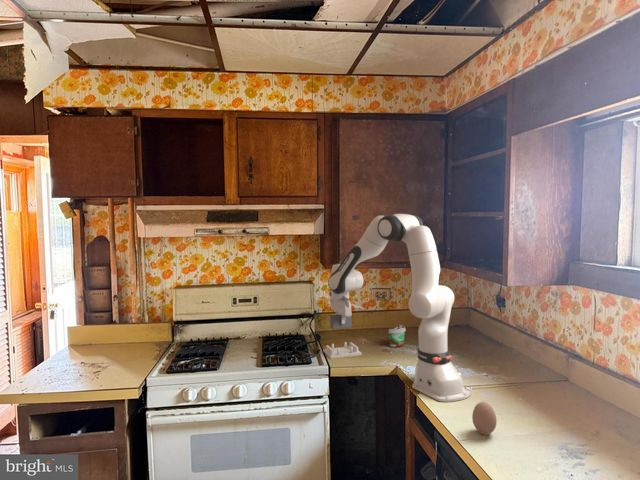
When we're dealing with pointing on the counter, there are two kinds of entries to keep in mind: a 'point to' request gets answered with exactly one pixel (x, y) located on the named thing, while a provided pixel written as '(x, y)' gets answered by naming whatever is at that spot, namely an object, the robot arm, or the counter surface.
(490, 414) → the egg
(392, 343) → the food container
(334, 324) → the block
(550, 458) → the counter surface
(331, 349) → the pin tray
